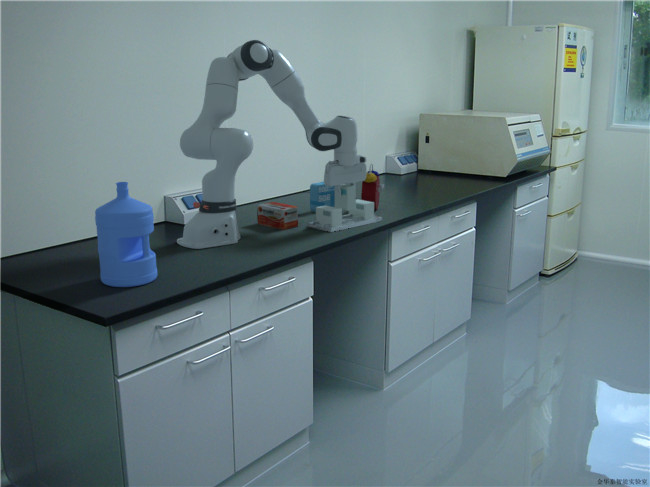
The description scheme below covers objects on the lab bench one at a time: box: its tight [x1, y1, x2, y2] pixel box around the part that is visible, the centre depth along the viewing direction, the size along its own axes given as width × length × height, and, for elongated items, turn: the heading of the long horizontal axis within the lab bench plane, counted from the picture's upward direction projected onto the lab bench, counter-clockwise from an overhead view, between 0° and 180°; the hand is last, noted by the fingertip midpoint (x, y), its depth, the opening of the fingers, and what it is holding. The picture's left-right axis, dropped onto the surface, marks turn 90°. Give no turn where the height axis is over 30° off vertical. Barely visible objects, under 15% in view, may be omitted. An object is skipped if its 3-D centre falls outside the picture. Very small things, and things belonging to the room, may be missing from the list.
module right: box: [348, 198, 375, 219], centre depth 262 cm, size 5×9×6 cm, turn 44°
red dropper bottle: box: [360, 163, 385, 211], centre depth 280 cm, size 15×9×20 cm, turn 168°
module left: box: [315, 205, 343, 227], centre depth 250 cm, size 5×9×6 cm, turn 44°
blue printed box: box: [309, 181, 335, 213], centre depth 280 cm, size 12×4×12 cm, turn 136°
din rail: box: [307, 213, 383, 233], centre depth 257 cm, size 28×13×2 cm, turn 134°
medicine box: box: [256, 201, 299, 231], centre depth 254 cm, size 15×8×8 cm, turn 47°
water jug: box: [94, 181, 158, 288], centre depth 185 cm, size 16×16×28 cm
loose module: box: [335, 184, 357, 212], centre depth 255 cm, size 5×7×9 cm, turn 44°
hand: (345, 194), depth 255 cm, fingers closed on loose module, 5 cm apart
